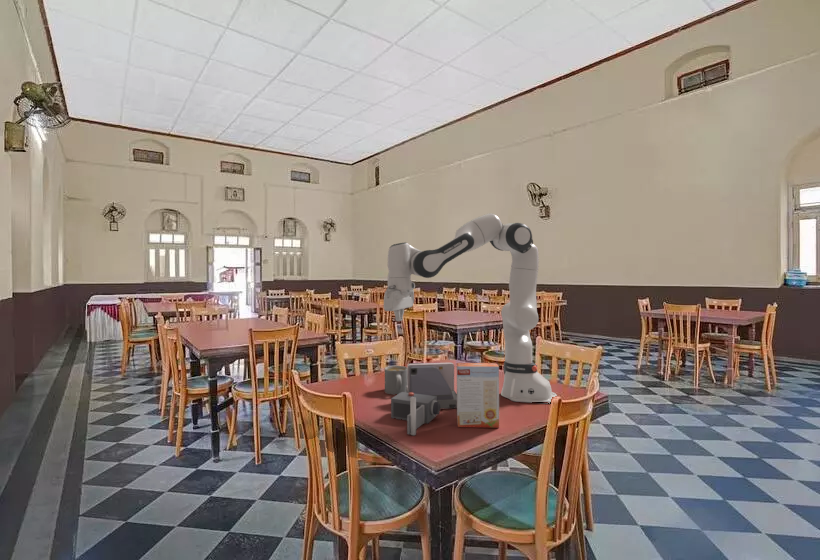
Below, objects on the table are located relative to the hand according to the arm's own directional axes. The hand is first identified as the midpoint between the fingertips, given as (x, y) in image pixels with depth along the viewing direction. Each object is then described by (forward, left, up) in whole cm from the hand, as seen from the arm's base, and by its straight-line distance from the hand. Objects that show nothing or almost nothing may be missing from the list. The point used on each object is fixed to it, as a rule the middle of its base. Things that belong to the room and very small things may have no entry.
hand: (399, 320), depth 168 cm
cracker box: (-33, +8, -33) cm, 48 cm away
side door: (-16, +20, -33) cm, 42 cm away
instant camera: (-10, -9, -34) cm, 36 cm away
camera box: (-10, +9, -33) cm, 36 cm away
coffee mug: (+9, -16, -33) cm, 38 cm away
